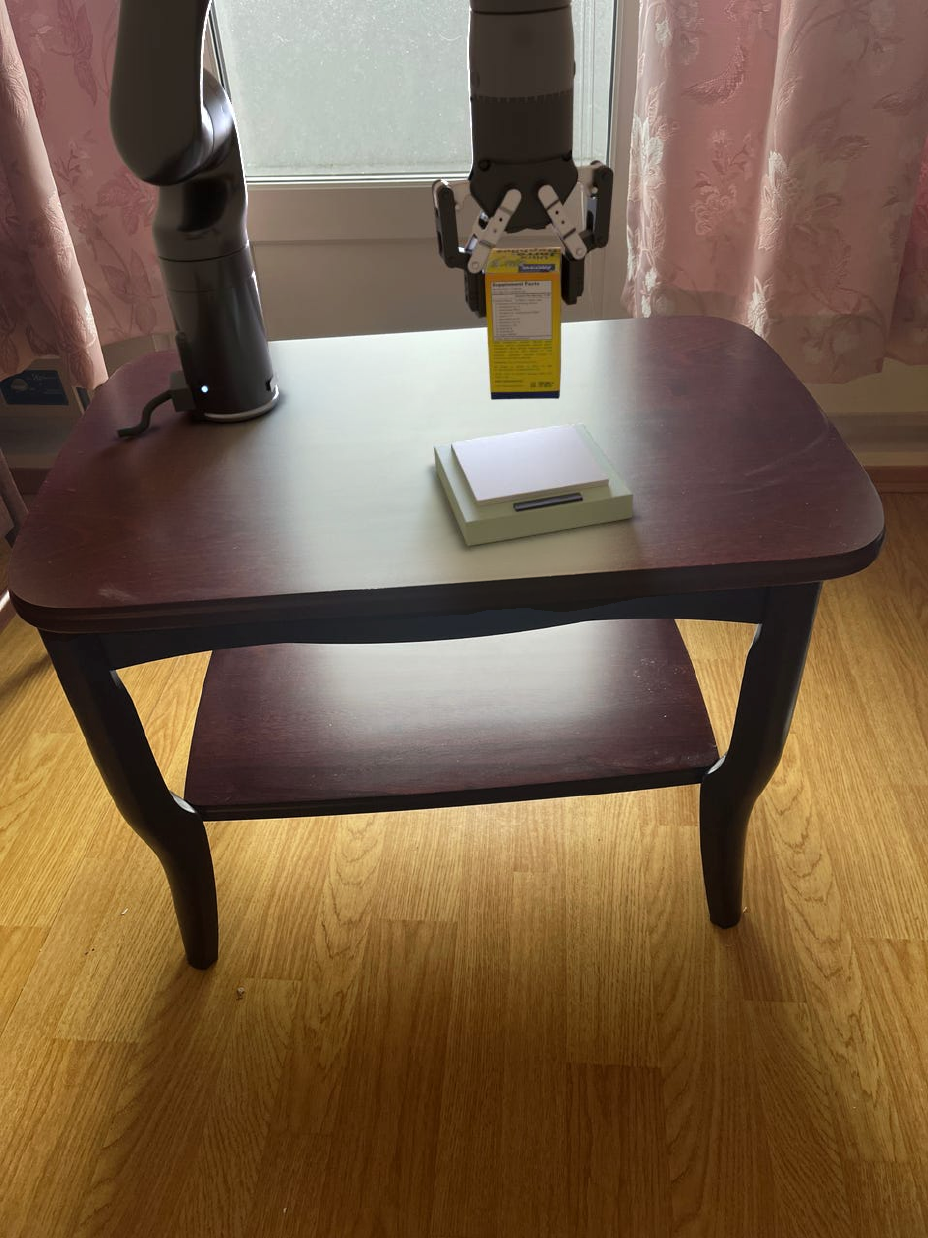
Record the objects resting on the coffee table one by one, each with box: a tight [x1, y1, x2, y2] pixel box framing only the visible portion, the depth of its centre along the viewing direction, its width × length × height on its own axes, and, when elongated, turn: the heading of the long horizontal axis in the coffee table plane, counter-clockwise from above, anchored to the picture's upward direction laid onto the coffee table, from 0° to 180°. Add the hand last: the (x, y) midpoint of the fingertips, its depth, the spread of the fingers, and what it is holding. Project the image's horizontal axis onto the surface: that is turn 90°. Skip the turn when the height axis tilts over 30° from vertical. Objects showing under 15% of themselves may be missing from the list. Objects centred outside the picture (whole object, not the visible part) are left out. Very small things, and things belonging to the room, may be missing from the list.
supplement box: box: [485, 246, 562, 401], centre depth 79 cm, size 6×6×11 cm
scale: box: [433, 422, 634, 547], centre depth 88 cm, size 15×14×3 cm
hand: (524, 307), depth 78 cm, fingers closed on supplement box, 7 cm apart
